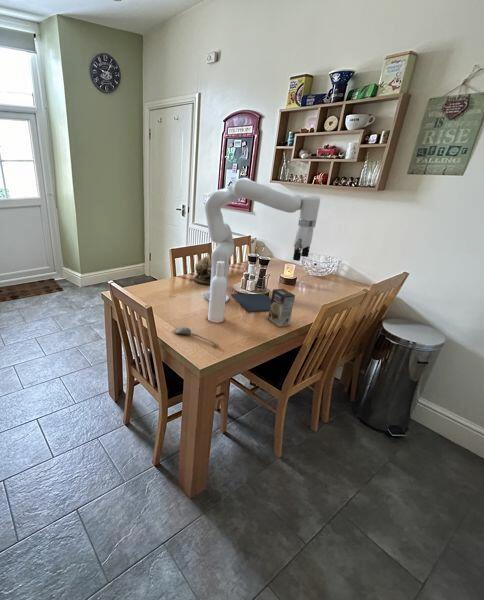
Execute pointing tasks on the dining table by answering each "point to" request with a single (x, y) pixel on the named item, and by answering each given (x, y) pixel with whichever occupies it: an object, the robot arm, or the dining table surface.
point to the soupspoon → (188, 331)
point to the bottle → (217, 295)
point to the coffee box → (281, 307)
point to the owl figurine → (203, 271)
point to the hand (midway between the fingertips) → (300, 258)
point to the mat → (253, 302)
